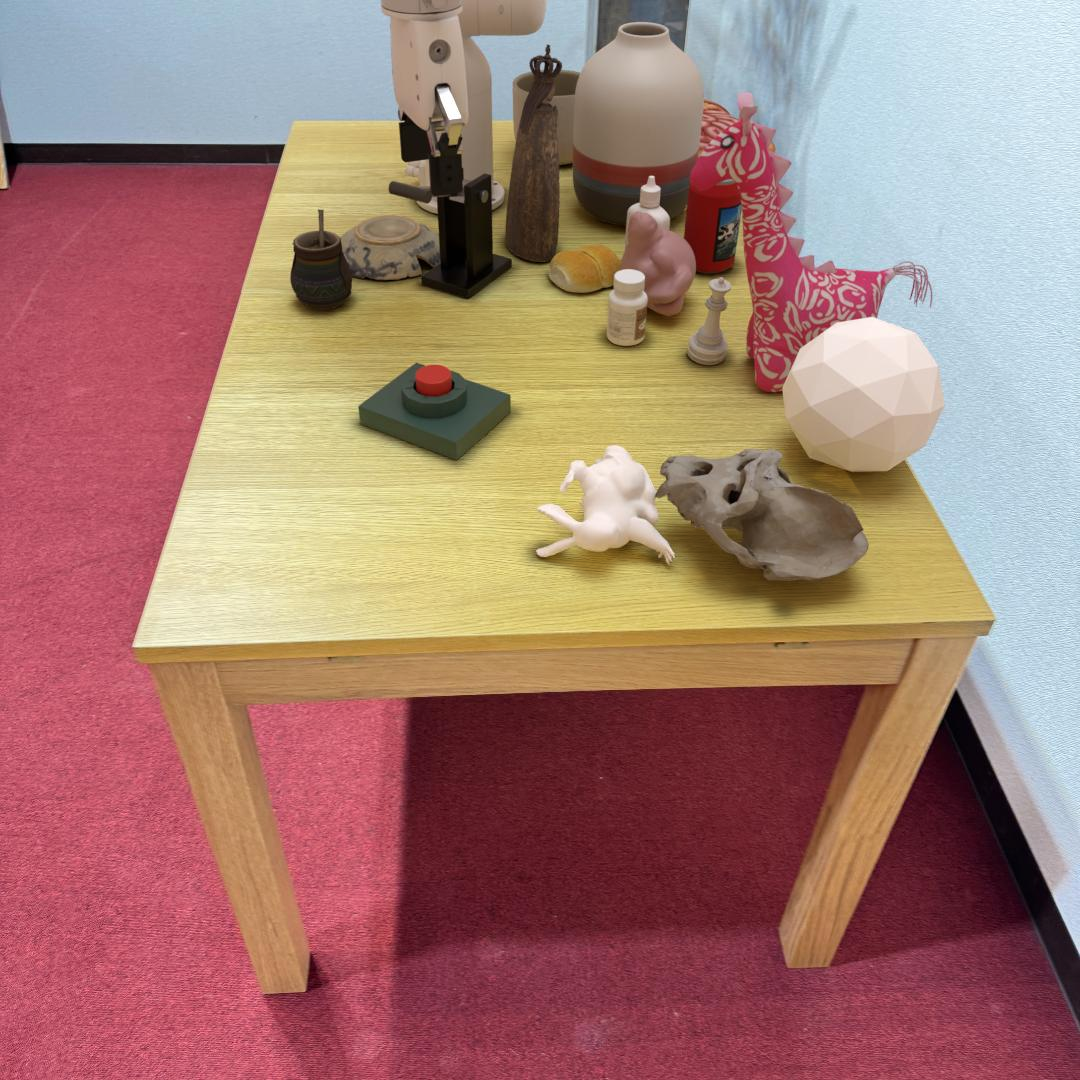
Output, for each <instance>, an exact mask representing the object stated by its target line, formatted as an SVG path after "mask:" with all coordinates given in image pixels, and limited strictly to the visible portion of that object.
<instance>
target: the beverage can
mask: <svg viewBox="0 0 1080 1080" xmlns="http://www.w3.org/2000/svg"><path fill="white" fill-rule="evenodd" d="M741 218H742V205H741V198H740V194H739V190H738V187H737V184H736V182H735V181H734V180H732V179H727V180H724V181H722V182H720V183H718V184H716V185H714V186H712V187H711V188H709V189H705V190H702V191H700V190H698V189H697V187H695V186H693V185H691V183H690V184H689V192H688V201H687V205H686V211H685V220H684V230H683V231H684V232H683V238H684V239H685V240H686V241H687V242H688V244H689V245H690V247H691V248H692V250H693V253H694V256H695V261H696V272H698V273H703V274H718V273H722V272H724V271H725V270H727V269H729V268H731V267H732V266H733V265H734V264H735V261H736V254H737V253H736V252H737V247H738V239H739V234H740V233H739V232H740V227H741V226H740V225H741Z"/></svg>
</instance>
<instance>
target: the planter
mask: <svg viewBox="0 0 1080 1080" xmlns="http://www.w3.org/2000/svg"><path fill="white" fill-rule="evenodd" d="M554 70H555V68H553V71H554ZM540 71H541V72H543V71H544V69H540ZM553 71H552V73H553ZM580 73H581V71H575V70H570V69H561V71H560V73H559V74H558V75H557V76H556V77H555V78H554V80H555V91H554V95H553V98H552V100H551V101H550V102H548V103H550V104H551V105H552V106H553V108H554V106H557V109H558V119H557V122H556V123H557V128H556V130H557V140H558V152H559V153H558V155H559V166H564V165H569V164H573V129H574V101H575V90H576V85H577V81H578V79H579V76H580ZM533 79H534V75H533V73H532V71H531V70H530V71H527V72H525V73H521V74H520V75H517V76H516V77H515V78H514V79H513V80H512V117H513V118H512V121H513V122H512V123H513V134H514V140H515V141H516V138H517V132H518V127H519V122H520V118H521V115H522V110H523V107H524V103H525V101H526V98H527V96H528V94H529V92H530V89H531V86H532V84H533V81H534V80H533Z"/></svg>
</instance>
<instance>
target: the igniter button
mask: <svg viewBox="0 0 1080 1080" xmlns="http://www.w3.org/2000/svg"><path fill="white" fill-rule="evenodd" d="M450 370H451V369H449V367H446V366H445V365H441V364H428V365H425V366H424V367H422V368H420V369H418V370H417V372H416V374H415V377H416V389H417V392H418V393H419V394H421V395H424V396H433V397H438V396H442V395H445V394H448V393H449V392H450V391H451V390H452V377H451V371H452V370H451V371H450Z"/></svg>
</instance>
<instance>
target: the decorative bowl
mask: <svg viewBox="0 0 1080 1080" xmlns="http://www.w3.org/2000/svg"><path fill="white" fill-rule="evenodd" d="M340 238H341V243H342V249H343V250H342V251H343V254H344V256H345V258H346V261H347V262H348V264H349V267H350V270H351V273H352V277H354V278H360V279H365V278H366V277H367V278H369V279H370V280H372V279H373V280H376V281H388V280H389V281H390V280H391V281H392V280H393V281H394V280H395V281H398V280H401V279H405V278H407V277H409V278H413V277H418V276H422V275H423V272H422V268H421V265H420V262H419V260H418V259H420V260H422V261H424V262H426V263H427V264H429V265H430V266H431V267H432V268H434V267H435V266H437V265H438V264H440V247H439V234H438V233H437V232H436V231H434V230H433V229H432V228H430V227H429V226H427V225H425V224H423V223H421V222H418V221H416V220H415V219H413V218H410V217H408V216H404V215H393V214H391V215H387V214H386V215H378V216H373V217H370V218H366V219H365V220H362V221H361V222H359V223H358V224H357V225H355V226H353V227H352V228H349V229H348V230H346V232H344V234H342V236H341V237H340Z"/></svg>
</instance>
